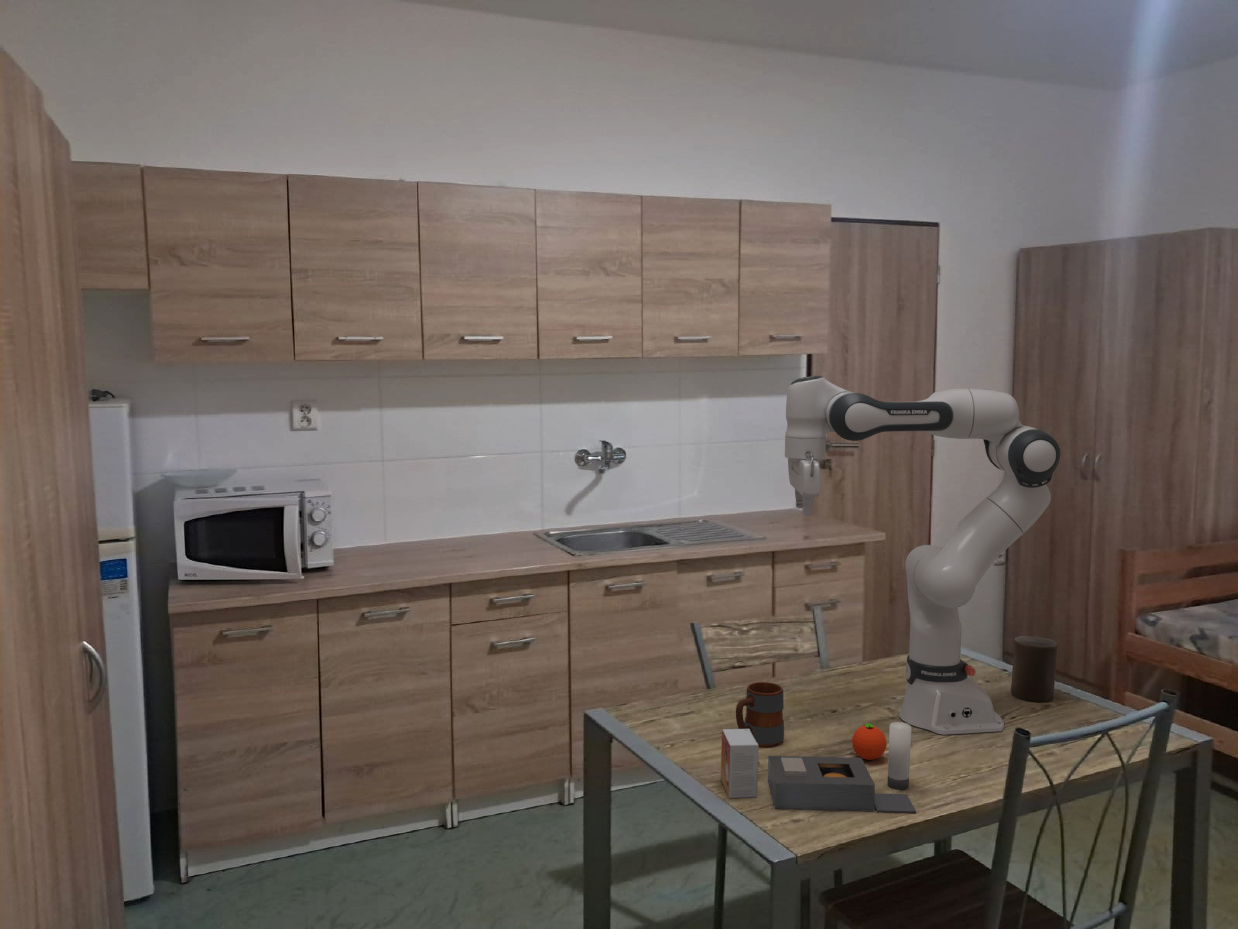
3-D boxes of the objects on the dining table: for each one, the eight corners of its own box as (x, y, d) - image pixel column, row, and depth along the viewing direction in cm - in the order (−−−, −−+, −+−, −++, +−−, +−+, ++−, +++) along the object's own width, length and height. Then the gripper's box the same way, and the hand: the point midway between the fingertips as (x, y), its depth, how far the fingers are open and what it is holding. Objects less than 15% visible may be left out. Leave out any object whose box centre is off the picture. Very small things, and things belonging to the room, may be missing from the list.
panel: (860, 782, 194) (861, 753, 194) (873, 811, 183) (875, 779, 182) (767, 780, 195) (768, 751, 194) (775, 808, 183) (775, 777, 182)
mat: (906, 796, 189) (906, 794, 189) (916, 813, 182) (916, 811, 182) (869, 795, 189) (869, 793, 189) (877, 812, 182) (877, 810, 182)
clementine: (847, 749, 210) (848, 717, 209) (880, 750, 210) (881, 717, 209) (855, 765, 202) (856, 731, 201) (889, 766, 202) (890, 732, 201)
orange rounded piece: (844, 780, 191) (845, 773, 190) (849, 791, 186) (849, 783, 186) (821, 780, 191) (821, 772, 191) (825, 790, 186) (825, 782, 186)
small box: (720, 780, 195) (721, 728, 194) (748, 779, 195) (749, 727, 194) (728, 799, 187) (729, 745, 186) (757, 798, 188) (758, 744, 186)
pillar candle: (1037, 705, 237) (1042, 644, 235) (1002, 693, 245) (1006, 633, 243) (1062, 698, 242) (1066, 638, 240) (1026, 686, 250) (1030, 628, 248)
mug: (722, 740, 214) (724, 688, 213) (765, 729, 221) (767, 678, 219) (748, 754, 207) (750, 700, 206) (792, 742, 213) (793, 690, 212)
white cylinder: (905, 781, 195) (908, 722, 194) (911, 790, 191) (913, 730, 190) (885, 780, 195) (887, 721, 194) (889, 790, 191) (892, 729, 190)
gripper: (828, 455, 210) (826, 520, 212) (811, 445, 230) (810, 504, 232) (797, 455, 210) (796, 519, 212) (784, 444, 231) (782, 504, 232)
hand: (803, 511), depth 222 cm, fingers open, 8 cm apart
